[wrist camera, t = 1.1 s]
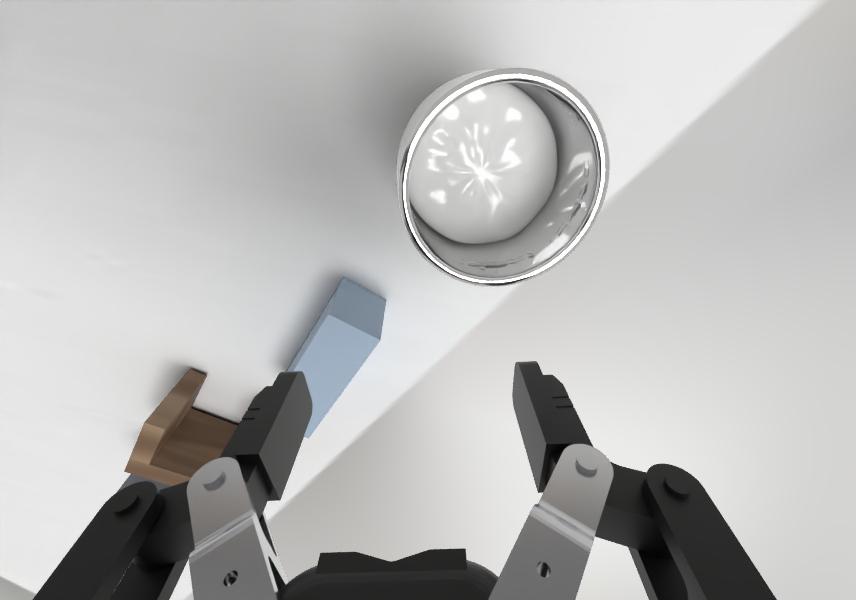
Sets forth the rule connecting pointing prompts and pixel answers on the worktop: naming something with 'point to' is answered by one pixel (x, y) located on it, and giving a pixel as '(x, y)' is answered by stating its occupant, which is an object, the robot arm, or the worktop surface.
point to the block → (179, 437)
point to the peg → (339, 345)
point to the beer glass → (501, 175)
